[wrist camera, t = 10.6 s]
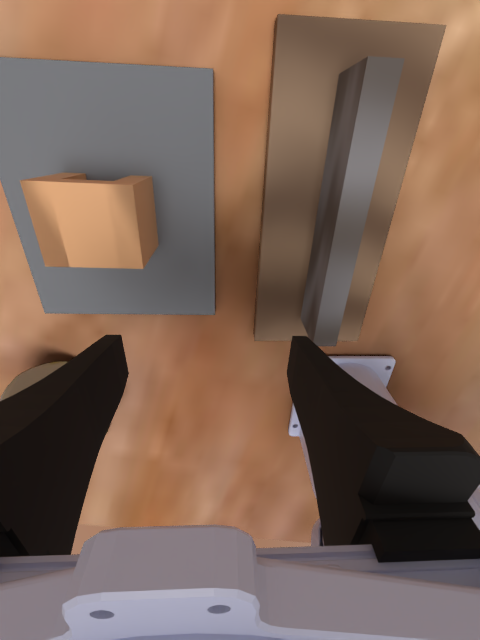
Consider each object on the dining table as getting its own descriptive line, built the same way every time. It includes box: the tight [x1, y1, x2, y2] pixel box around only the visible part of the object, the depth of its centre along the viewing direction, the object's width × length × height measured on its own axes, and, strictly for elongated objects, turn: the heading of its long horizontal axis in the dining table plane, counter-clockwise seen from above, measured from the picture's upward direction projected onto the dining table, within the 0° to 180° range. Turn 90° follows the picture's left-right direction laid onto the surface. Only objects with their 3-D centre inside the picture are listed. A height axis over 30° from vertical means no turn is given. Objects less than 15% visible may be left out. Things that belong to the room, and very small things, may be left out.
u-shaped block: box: [20, 173, 159, 269], centre depth 16 cm, size 4×5×4 cm
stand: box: [254, 14, 446, 346], centre depth 17 cm, size 18×8×4 cm, turn 178°
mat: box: [0, 57, 215, 315], centre depth 18 cm, size 14×12×1 cm
